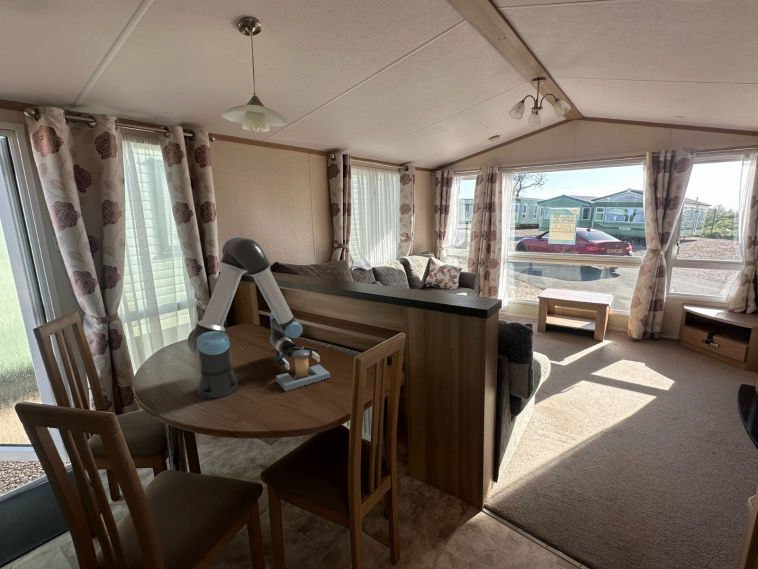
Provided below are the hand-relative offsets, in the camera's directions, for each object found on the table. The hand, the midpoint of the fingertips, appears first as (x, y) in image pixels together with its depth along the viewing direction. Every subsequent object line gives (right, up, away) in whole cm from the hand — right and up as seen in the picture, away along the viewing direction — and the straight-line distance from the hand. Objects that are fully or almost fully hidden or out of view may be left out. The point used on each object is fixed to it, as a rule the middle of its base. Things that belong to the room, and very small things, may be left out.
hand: (304, 362), depth 151 cm
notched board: (-1, -8, +3) cm, 9 cm away
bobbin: (-1, -8, +4) cm, 9 cm away
